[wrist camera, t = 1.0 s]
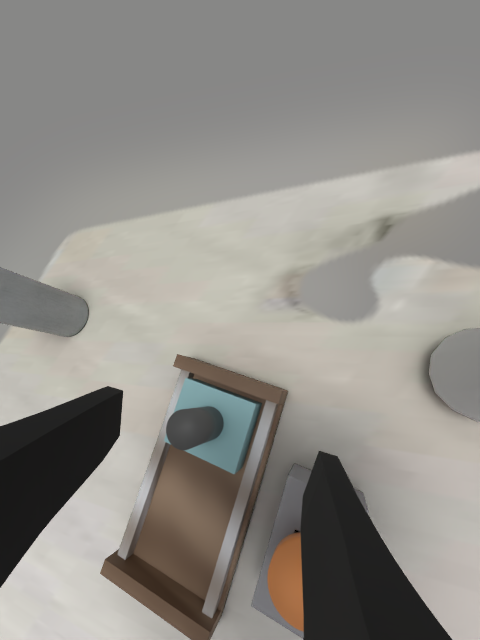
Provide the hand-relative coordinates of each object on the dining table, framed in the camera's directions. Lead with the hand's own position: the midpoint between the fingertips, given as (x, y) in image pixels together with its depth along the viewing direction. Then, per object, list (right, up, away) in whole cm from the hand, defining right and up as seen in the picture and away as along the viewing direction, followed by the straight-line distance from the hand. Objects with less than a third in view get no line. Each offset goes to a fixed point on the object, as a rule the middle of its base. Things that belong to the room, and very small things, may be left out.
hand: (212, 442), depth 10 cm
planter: (-17, +5, +22) cm, 28 cm away
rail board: (-2, -8, +14) cm, 16 cm away
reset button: (+6, -11, +9) cm, 15 cm away
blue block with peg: (-1, -4, +13) cm, 14 cm away
